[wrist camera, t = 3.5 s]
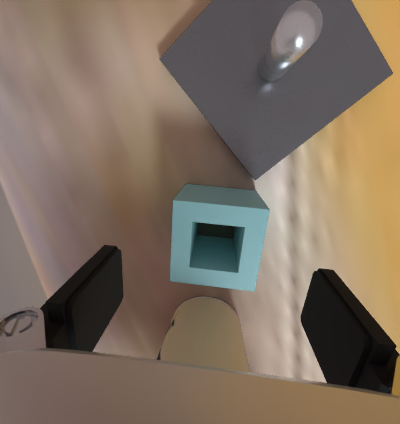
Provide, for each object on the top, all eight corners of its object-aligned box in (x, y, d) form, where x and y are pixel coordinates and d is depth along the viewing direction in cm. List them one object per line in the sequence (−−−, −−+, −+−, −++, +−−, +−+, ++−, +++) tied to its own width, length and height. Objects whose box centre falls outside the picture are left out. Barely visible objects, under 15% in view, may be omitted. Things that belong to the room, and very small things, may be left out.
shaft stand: (253, 178, 20) (269, 197, 13) (162, 63, 18) (128, 17, 11) (383, 77, 17) (490, 35, 10) (292, -78, 15) (352, -258, 8)
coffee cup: (160, 289, 24) (109, 419, 13) (247, 289, 24) (272, 428, 12) (170, 354, 27) (134, 507, 16) (247, 356, 26) (268, 520, 15)
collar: (245, 252, 22) (254, 291, 17) (182, 245, 23) (169, 281, 17) (255, 190, 20) (269, 209, 15) (186, 183, 21) (173, 200, 15)
